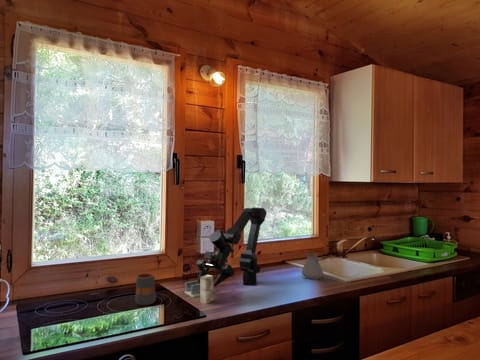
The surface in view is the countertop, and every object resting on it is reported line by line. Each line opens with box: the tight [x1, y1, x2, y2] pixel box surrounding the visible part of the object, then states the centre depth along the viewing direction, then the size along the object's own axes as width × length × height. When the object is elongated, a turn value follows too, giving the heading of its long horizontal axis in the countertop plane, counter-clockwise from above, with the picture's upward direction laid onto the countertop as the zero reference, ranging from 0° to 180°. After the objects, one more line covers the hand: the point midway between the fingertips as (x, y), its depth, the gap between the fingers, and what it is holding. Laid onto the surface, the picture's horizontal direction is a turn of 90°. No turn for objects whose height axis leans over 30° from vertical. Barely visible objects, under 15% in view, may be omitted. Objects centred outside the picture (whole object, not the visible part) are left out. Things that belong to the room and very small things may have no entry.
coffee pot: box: [301, 252, 335, 281], centre depth 198 cm, size 21×12×15 cm, turn 29°
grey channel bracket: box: [184, 279, 200, 298], centre depth 177 cm, size 10×8×5 cm
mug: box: [134, 273, 157, 306], centre depth 165 cm, size 9×12×12 cm
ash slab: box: [199, 274, 214, 305], centre depth 165 cm, size 5×3×11 cm, turn 143°
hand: (206, 284), depth 164 cm, fingers open, 9 cm apart
